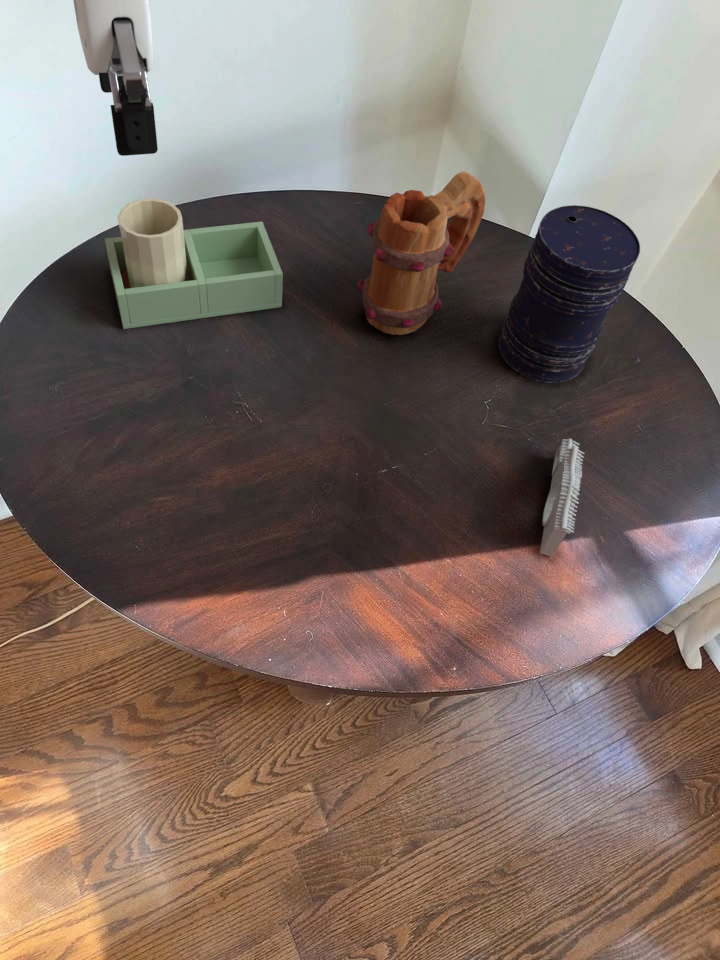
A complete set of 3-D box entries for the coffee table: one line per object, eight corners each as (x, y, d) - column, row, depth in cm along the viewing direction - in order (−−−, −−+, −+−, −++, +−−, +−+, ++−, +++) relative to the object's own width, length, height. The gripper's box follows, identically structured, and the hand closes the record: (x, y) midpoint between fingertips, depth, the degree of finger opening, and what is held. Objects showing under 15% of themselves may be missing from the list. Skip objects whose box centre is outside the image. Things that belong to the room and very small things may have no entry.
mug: (388, 358, 82) (411, 240, 70) (338, 313, 85) (352, 193, 73) (482, 304, 88) (519, 188, 76) (433, 264, 91) (460, 146, 79)
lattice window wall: (552, 455, 77) (572, 417, 72) (570, 460, 76) (591, 422, 72) (535, 556, 70) (556, 521, 65) (555, 561, 70) (577, 527, 65)
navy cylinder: (604, 370, 84) (662, 259, 72) (529, 394, 81) (578, 282, 69) (553, 309, 89) (600, 196, 77) (480, 330, 86) (518, 215, 74)
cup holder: (123, 329, 80) (116, 295, 76) (111, 273, 85) (104, 238, 81) (281, 307, 84) (283, 273, 81) (262, 255, 89) (262, 221, 85)
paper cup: (135, 312, 81) (123, 240, 73) (126, 273, 84) (114, 201, 76) (193, 304, 82) (187, 233, 75) (182, 267, 85) (175, 195, 78)
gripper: (28, -168, 56) (71, 70, 70) (52, -69, 47) (96, 183, 61) (134, -164, 58) (155, 67, 72) (177, -68, 49) (192, 175, 63)
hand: (128, 120), depth 66 cm, fingers open, 9 cm apart
